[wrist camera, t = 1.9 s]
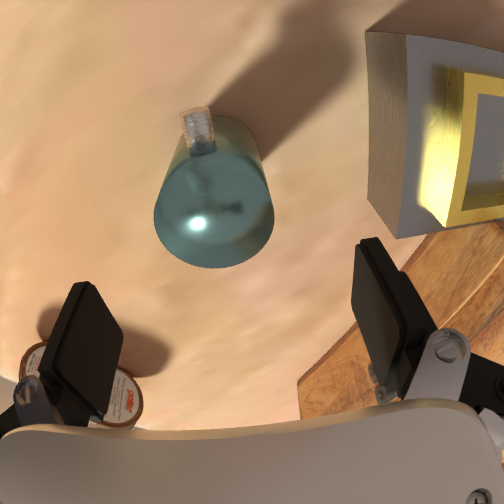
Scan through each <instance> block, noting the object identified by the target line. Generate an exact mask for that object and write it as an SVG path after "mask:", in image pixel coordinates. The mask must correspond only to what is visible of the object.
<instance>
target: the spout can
mask: <svg viewBox="0 0 504 504" xmlns="http://www.w3.org/2000/svg"><path fill="white" fill-rule="evenodd" d="M180 118H181V122H182V126H183V130H184V133H183V135H182V136H181V138H180V141H179V143H178V146H177V148H176V151H175V153H174V156H173V158H172V161H171V163H170V166H169V169H168V171H167V174H166V177H165V179H164V182H163V185H162V188H161V190H160V193H159V196H158V199H157V202H156V204H155V209H154V226H155V229H156V233H157V235H158V237H159V239H160V241H161V242H162V244H163V245H164V246H165V247H166V249H167V250H168V251H169V252H171V253H172V254H173V255H174V256H176V257H177V258H179V259H180V260H182V261H184V262H186V263H189V264H191V265H194V266H198V267H203V268H226V267H230V266H234V265H237V264H240V263H242V262H244V261H246V260H248V259H250V258H252V257H253V256H254V255H256V254H257V253H258V252H259V251H260V250H261V249H262V248H263V247H264V245H265V244H266V243H267V241H268V239H269V238H270V235H271V233H272V230H273V226H274V209H273V205H272V201H271V197H270V193H269V189H268V186H267V182H266V178H265V175H264V171H263V167H262V164H261V160H260V156H259V153H258V149H257V145H256V142H255V139H254V137H253V135H252V133H251V132H250V131H249V129H248V128H247V127H246V126H245V125H244V124H242V123H241V122H239V121H238V120H236V119H233V118H231V117H227V116H210V111H209V107H198V108H193V109H190V110H187V111H184V112H182V113H181V114H180Z"/></svg>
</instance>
